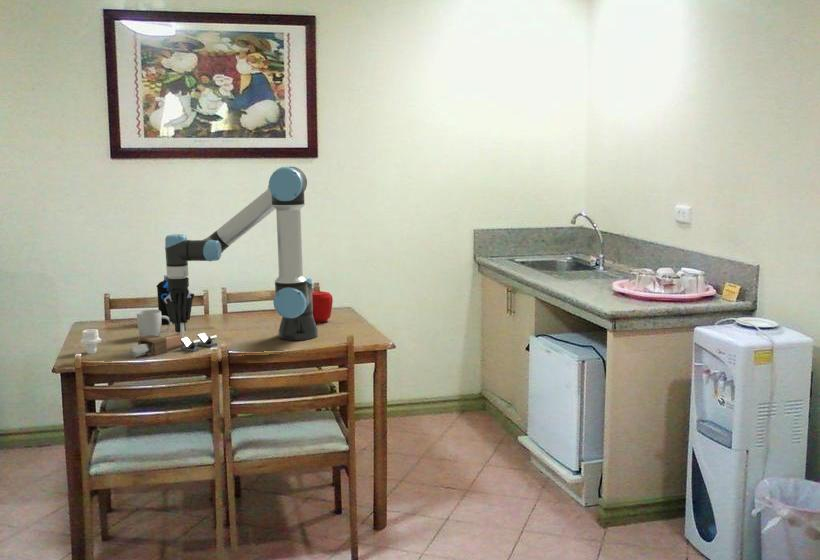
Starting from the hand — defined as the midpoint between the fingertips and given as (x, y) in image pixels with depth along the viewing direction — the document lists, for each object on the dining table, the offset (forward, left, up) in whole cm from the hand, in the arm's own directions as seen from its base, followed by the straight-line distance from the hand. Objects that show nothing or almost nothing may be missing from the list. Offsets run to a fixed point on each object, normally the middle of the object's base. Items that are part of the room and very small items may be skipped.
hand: (181, 340), depth 287 cm
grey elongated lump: (0, +16, -2) cm, 16 cm away
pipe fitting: (+18, +25, -2) cm, 31 cm away
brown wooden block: (0, +6, -2) cm, 6 cm away
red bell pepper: (-18, -59, -2) cm, 62 cm away
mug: (+18, -3, -2) cm, 19 cm away
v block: (-9, 0, -2) cm, 9 cm away
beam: (0, +7, -2) cm, 7 cm away
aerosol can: (+35, -24, -2) cm, 43 cm away
